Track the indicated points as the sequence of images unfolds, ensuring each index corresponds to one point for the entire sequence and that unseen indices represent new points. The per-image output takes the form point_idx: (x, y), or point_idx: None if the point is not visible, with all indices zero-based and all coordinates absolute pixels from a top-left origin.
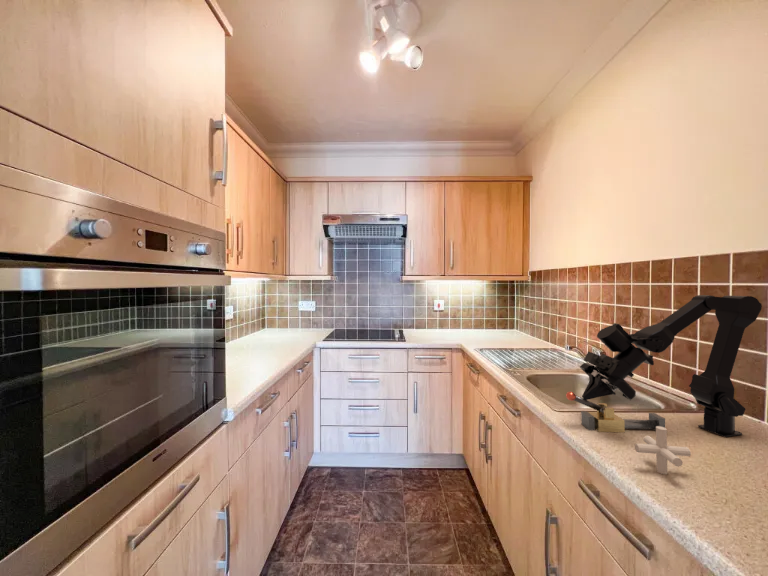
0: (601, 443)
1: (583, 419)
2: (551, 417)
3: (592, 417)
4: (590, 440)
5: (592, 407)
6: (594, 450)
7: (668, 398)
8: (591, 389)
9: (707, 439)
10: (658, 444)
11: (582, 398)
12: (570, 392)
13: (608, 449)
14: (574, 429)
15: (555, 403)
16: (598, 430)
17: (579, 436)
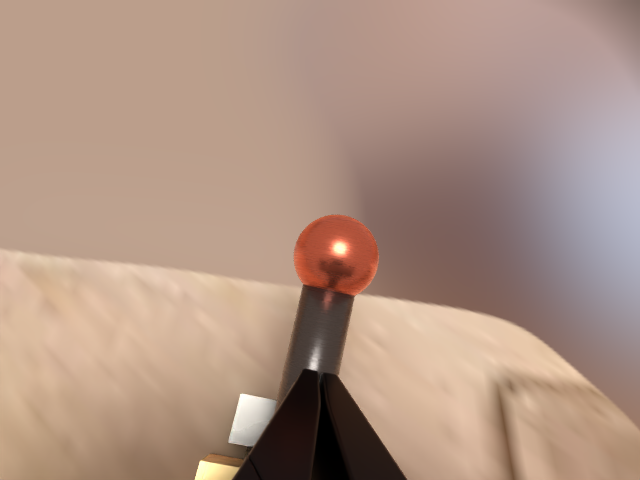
0: (88, 353)
1: None
2: (411, 304)
3: (233, 427)
4: (138, 319)
5: None
6: (51, 265)
7: None
8: (259, 461)
9: None
10: None
11: (307, 363)
12: (336, 226)
13: (21, 340)
14: (267, 326)
15: (626, 465)
16: (210, 454)
17: (193, 296)
